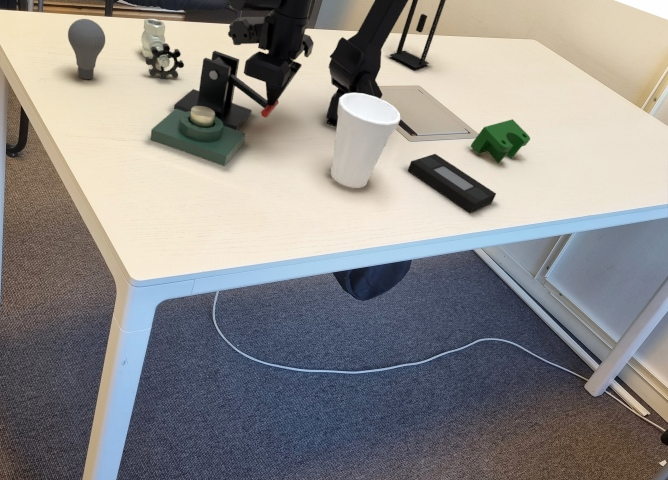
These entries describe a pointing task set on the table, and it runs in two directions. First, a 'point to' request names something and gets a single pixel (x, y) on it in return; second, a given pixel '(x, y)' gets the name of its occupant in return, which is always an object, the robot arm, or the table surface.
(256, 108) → the table surface
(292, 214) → the table surface
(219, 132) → the button box
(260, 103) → the lever
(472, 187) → the vhs tape
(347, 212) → the table surface
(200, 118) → the button
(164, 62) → the valve
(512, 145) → the clamp
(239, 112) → the bracket
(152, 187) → the table surface
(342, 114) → the cup
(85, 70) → the light bulb
